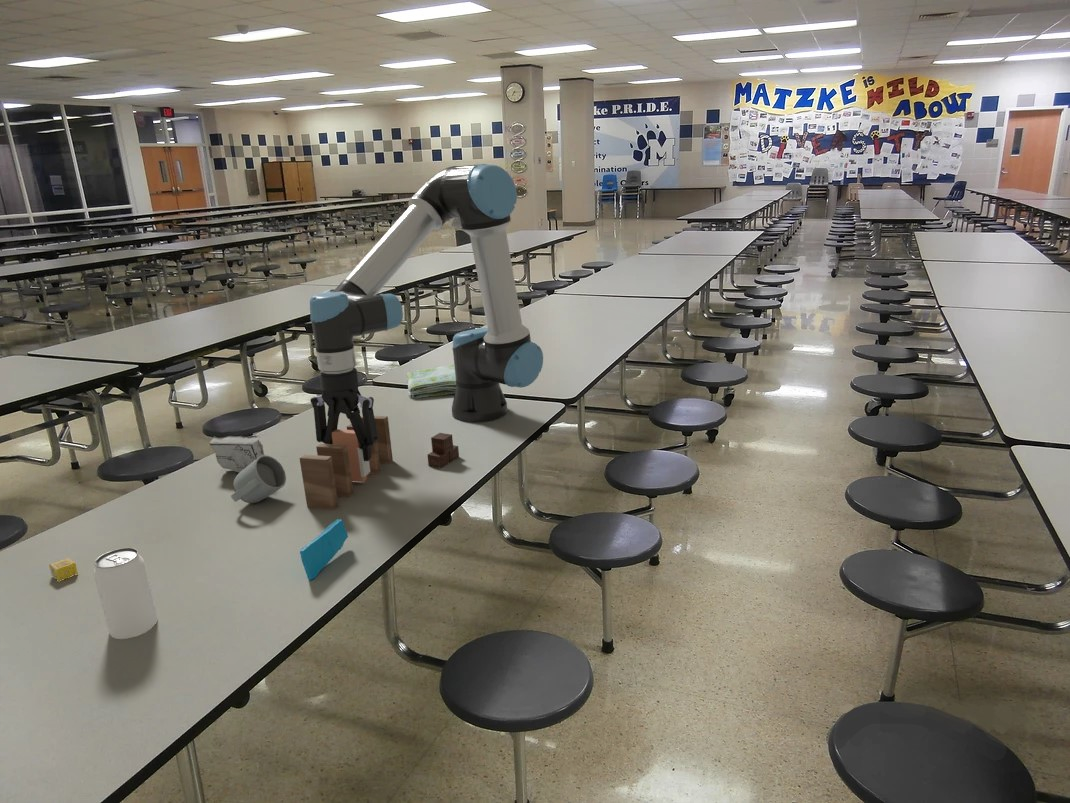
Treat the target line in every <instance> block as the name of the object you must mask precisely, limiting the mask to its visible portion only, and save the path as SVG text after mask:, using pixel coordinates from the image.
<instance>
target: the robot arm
mask: <svg viewBox="0 0 1070 803" xmlns="http://www.w3.org/2000/svg"><path fill="white" fill-rule="evenodd" d="M517 199H518V193H517V188H516V184H515V181H514V178H512V177H511V175H510V174H509V172H508V171H506V170H505V169H504V168H502V167H501V166H498V165H495V164H487V163H479V164H470V165H469V164H468V165H453V166H449V167H446V168H443V169H441V170H440V171H438V172H437V173H435V174H434V175H432V176H431V178H430V179H428V180H427V181H426V182H424V184H423V185H422V186H421V187H419V189H418V190H417V191H416V192H415V193H414V194H413V195H412V196H411V198H409V200H408V207H407V209H406V210H405V211H404V212H403V213H402V214H401V215H400V216H399V218H398V219H397V220H396V221H395V222H394V224H392V225H391V227H389V229H388V230H387V231H386V232H385V233H384V234H383V235H382V237H381V238H380V239H379V240H378V241H377V242H376V243H375V244H374V245H373V247H372V248H371V249H370V250H369V251H368V252H367V253H366V255H364V257H363V258H362V259H360V261H358V263H357V264H356V266H354V268H353V269H352V270H351V271H350V272H349V273H348V275H347V276H346V277H345V278H344V279H343V280H342V281H341V282H340V284H338V286H337V287H335V289H332V288H331V289H328V290H325V291H322V292H321V293H317V294H314V295H313V296H311V297H310V299H309V312H310V318H309V320H310V321H311V326H312V328H311V329H312V332H313V333H312V334H313V342H314V346H315V354H316V362H317V366H318V367H317V368H318V370H319V371H320V372H319V381H320V382H319V383H320V388H321V390H322V393H321V394H317V395H315V396H314V397H312V398H310V399H309V400H310V404H311V406H312V409H313V416H314V426H315V436H316V442H318V443H322V444H333V441H332V432H333V431H334V430H336V429H338V425H339V419H340V414H344V415H345V417H346V418H347V419H349V422H350V424H351V425H352V427H353V429H354V432H355V434H356V436H357V439H358V441H359V444H360V447H359V448H357V450H358V457H359V465H360V472H361V477H365V476H366V475H367V476H368V475H369V473H370V465H369V460H370V459H371V458H372V455H371V447H370V445H373V444H374V443H375V442H377V441H378V434H377V429H376V423H375V418H374V416H375V414H374V408H373V407H374V400H375V399H374V397H373V396H369V397H366V396H363V395H362V394H361V392H360V391H359V377H358V370H357V368H356V366H357V363H356V362H357V360H356V354H355V343H354V337H359V336H364V335H369V334H370V335H371V334H373V333H378V332H386V331H389V330H391V329H395V328H397V327H399V326H400V325H401V324H402V321H403V318H404V312H403V305H402V303H401V300H400V299H399V298H398V297H397V296H396V295H395V294H393V293H380V291H381V290H382V289H383V288H384V287H385V286H386V285H387V283H388V282H389V280H391V278H393V276H394V275H395V274H396V273H397V272H398V271H399V270H400V268H401V267H402V266H403V265H404V264H405V263H406V262H407V260H408V259H409V258H410V257H411V256H412V254H413V253H414V252H415V251H416V250H417V249H418V247H419V246H420V245H421V244H422V243H423V242H424V241H425V239H426V238H427V237H429V235H430V234H431V233H432V231H434V230H435V231H438V230H440V229H441V228H442V227H443V226H444V225H445V224H446V223H447V222H448V221H451V220H452V219H454V218H459V221H460V222H459V223H460V226H461V230H462V231H463V232H465V233H466V234H467V235H468V236H469V238H470V243H471V248H472V253H473V259H474V264H475V268H476V269H475V270H476V273H477V280H478V285H479V290H480V295H481V302H482V306H483V310H484V311H483V312H484V316H485V322H486V326H487V327H482V328H474V329H473V328H472V329H469V330H468V329H467V330H464V331H460V332H458V333H455V334H454V336H453V337H452V348H451V349H452V353H453V354H452V355H453V356H452V357H453V363H454V364H453V365H454V366H455V376H456V392H455V394H454V395H453V396H454V397H453V399H452V400H453V401H452V405H451V415H452V417H453V418H454V419H455V420H458V421H462V422H468V423H470V422H472V423H474V422H475V423H478V422H488V421H489V422H490V421H493V420H496V419H500V418H502V417H504V416H506V415H507V413H508V402H507V400H506V397H505V395H504V392H503V390H502V388H501V385H500V384H502V385H505V386H507V387H510V388H514V387H515V388H526V387H528V386H530V385H531V384H533V383H534V382H535V381H536V380H537V379H538V377H539V375H540V373H541V371H542V370H543V369H542V368H543V365H544V353H543V350H542V348H541V347H540V346H539V345H538V344H537V343H536V342H533V341H532V339H531V334H530V333H531V332H530V329H529V328H528V327H526V325H524V324H523V323H522V322H523V321H522V317H521V316H522V315H521V311H520V304H519V299H518V293H517V288H516V280H515V275H514V269H513V264H512V258H511V257H512V256H511V253H510V252H511V251H510V246H509V240H508V235H507V228H508V226H509V225H510V223H511V215H512V213H513V211H515V204H517V201H518V200H517ZM378 293H379V294H378ZM325 404H326V405H327V413H326V405H325ZM359 404H360V405H359ZM358 405H359V406H360V407H359V406H358ZM360 408H361V411H360ZM326 414H327V415H326ZM361 414H362V416H363V420H364V423H363V421H362V418H361V417H362V416H361Z"/></svg>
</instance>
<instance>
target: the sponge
mask: <svg viewBox="0 0 1070 803" xmlns="http://www.w3.org/2000/svg"><path fill="white" fill-rule="evenodd" d="M347 532H348V531H347V530H346V527H345V523H344V520H343V519H340V518H338V519H336V520H334V521H333V522H331V523H330V524H329V525H328V526H326V528H324V530H323V531H322V532H320V534H319V535H317V537H315V538H314V539H312V540H311V541H310V542H308V544H306V545H304V547H302V548H301V549H300V551H299V555H300V559H301V563H302V565H303V567H304V571H305V573H306V574H305V575H306V578H307V579H308V581H312V580H314V579H315V578H316V577H317V576H318V575H319V573H320V572H321V571H322V570H323V569H324V567H325V566H326V565H328V564H329V562H330V561H331V560H333V558H334V557H335V556H336V554H337V553H338V552H339V551H340V550H341V549H342V548H343V546H344V545H345V544H344V543H345V541H346V540H347V539H348V537H349V536H348V535H349V534H348V533H347Z"/></svg>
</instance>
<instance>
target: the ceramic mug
mask: <svg viewBox="0 0 1070 803" xmlns="http://www.w3.org/2000/svg"><path fill="white" fill-rule="evenodd" d="M232 482H233V483H232V484H233V491H234V493H232V494H231V495H230V498H231V499H232V501H233V502H235V503H237V502H238V501H239V500H241V501H243V502H244V503H246V504H257V503H259V502H261V501H263V500H264V499H266V498H268V497H270V495H273V494H274V493H276V492H277V491H279V490H280V489H282V488H283V487H284V486H285V484H286V482H287V474H286V471H285V469H284V467H283V465H282V463H280V462H279V461H278V460H277V459H276V458H274V457H272V456H270V455H268V454H267V455H266V454H264V455H263V456H260V457H258V458H257V459H256V460H254V461H253V462H252V463H251V464H250V465H248V466H247V467H246V468H245V469H243V470H242V471H241V472H240V473H239V472H238V473H237V475H236V477H235V478H234V479H233V481H232Z"/></svg>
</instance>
